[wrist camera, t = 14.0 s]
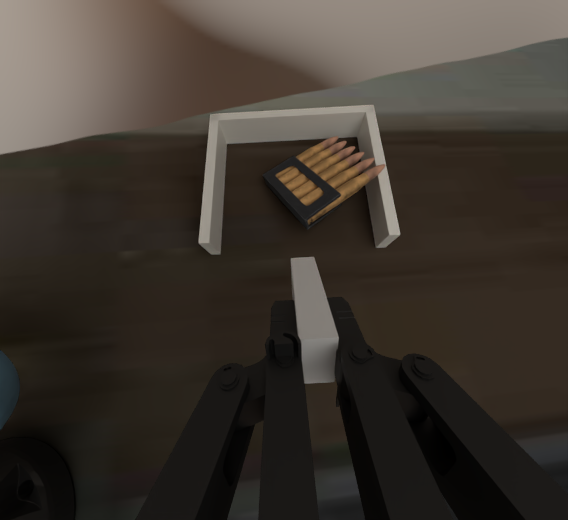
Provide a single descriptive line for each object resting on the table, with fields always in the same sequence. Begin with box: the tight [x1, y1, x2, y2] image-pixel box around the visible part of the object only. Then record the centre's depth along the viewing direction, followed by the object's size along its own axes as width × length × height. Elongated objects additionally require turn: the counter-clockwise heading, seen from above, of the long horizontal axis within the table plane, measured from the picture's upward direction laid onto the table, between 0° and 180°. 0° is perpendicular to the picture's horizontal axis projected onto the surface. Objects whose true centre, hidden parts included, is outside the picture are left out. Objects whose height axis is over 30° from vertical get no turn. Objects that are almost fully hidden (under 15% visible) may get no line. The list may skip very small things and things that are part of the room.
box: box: [199, 105, 400, 255], centre depth 28 cm, size 22×19×4 cm
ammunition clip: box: [263, 136, 385, 230], centre depth 27 cm, size 11×2×12 cm
